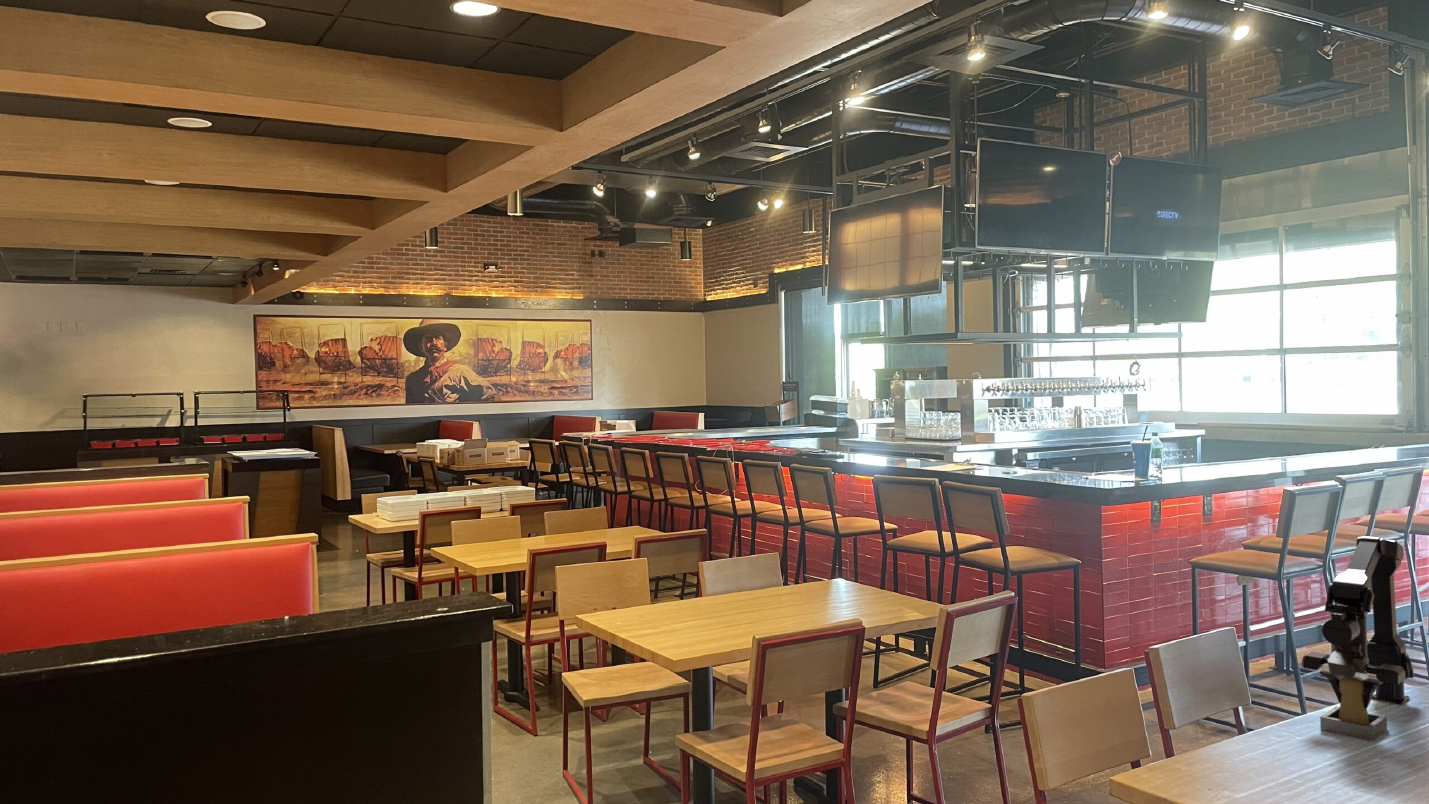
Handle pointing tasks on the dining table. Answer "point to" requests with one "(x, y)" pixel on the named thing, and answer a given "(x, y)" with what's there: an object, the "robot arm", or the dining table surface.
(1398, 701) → the robot arm
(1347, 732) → the socket frame
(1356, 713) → the cork
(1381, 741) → the dining table surface
